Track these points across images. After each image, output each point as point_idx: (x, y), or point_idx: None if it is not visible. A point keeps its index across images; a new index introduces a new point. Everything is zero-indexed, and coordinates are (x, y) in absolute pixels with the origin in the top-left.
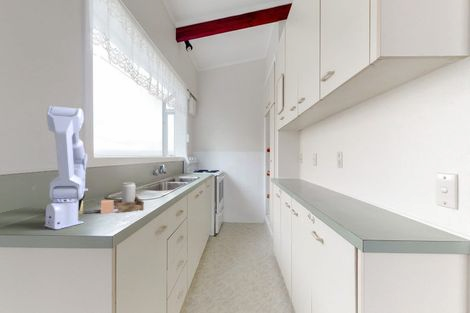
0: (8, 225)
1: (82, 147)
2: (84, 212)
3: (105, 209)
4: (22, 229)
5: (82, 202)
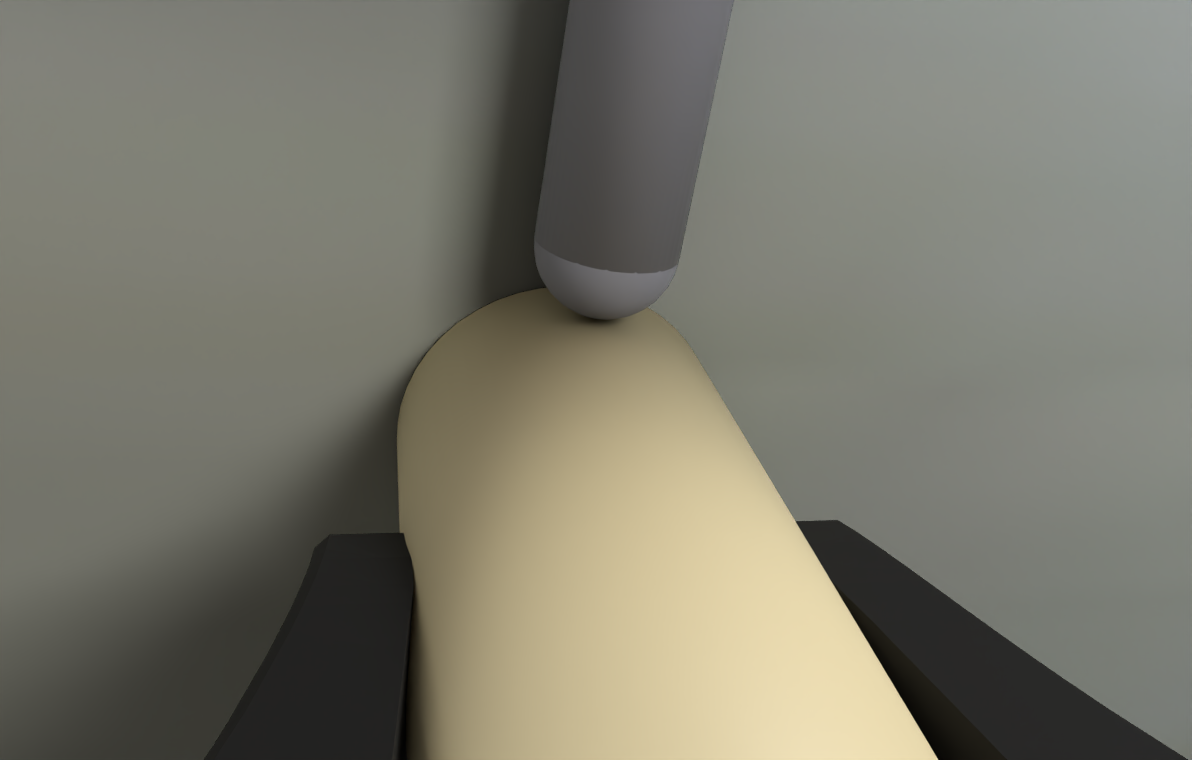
0: None
1: None
2: (675, 245)
3: None
4: None
5: (875, 724)
